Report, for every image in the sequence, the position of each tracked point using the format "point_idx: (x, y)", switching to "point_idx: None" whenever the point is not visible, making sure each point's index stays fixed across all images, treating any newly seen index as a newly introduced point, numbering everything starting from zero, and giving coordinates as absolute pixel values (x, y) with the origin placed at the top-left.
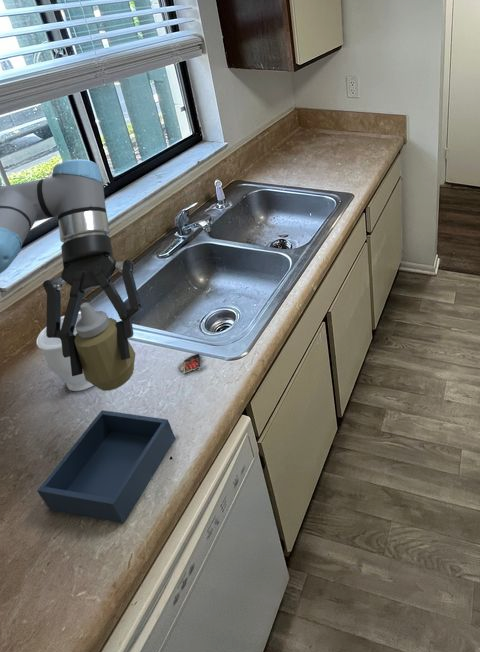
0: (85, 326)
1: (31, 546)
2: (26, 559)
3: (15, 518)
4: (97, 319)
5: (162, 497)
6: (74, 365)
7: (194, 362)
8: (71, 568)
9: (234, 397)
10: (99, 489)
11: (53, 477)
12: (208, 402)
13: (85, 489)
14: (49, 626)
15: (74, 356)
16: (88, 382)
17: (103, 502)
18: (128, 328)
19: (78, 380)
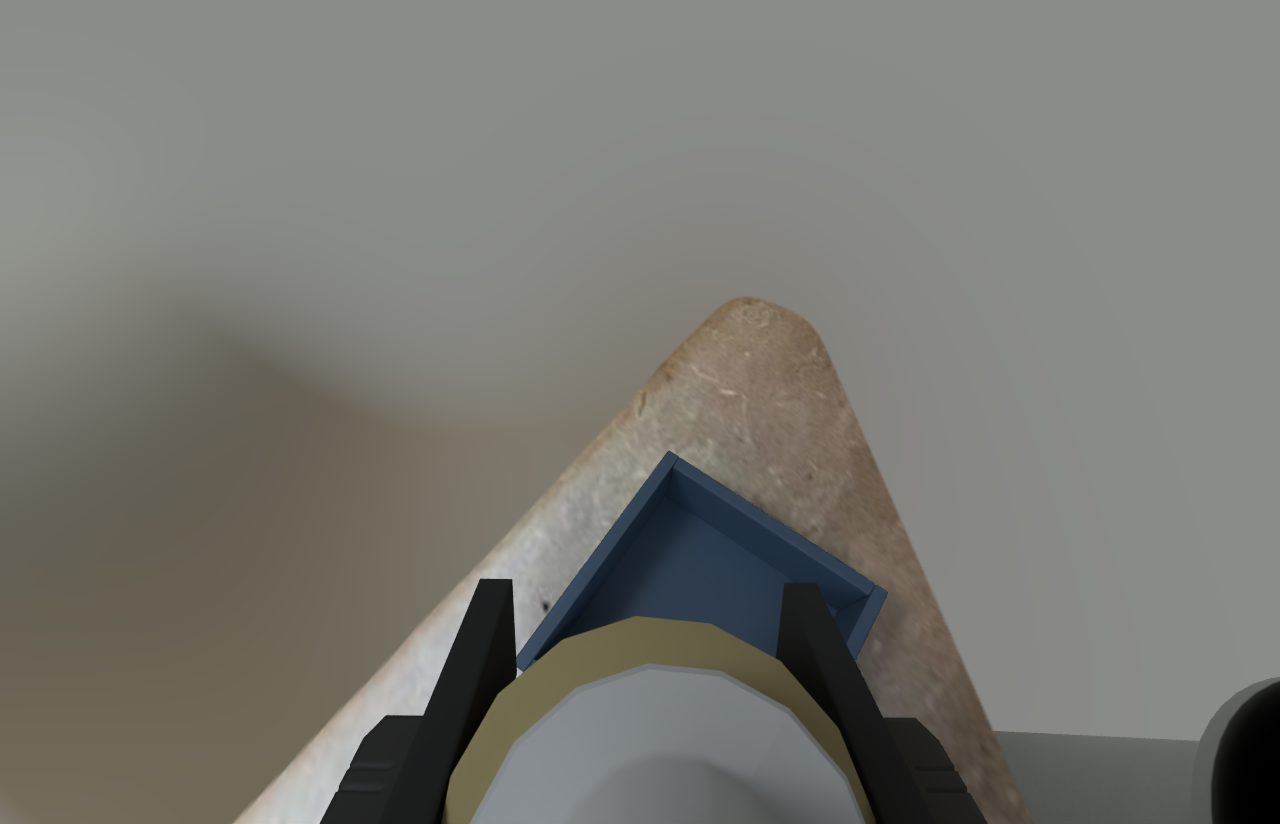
0: (732, 773)
1: (862, 534)
2: (863, 509)
3: (934, 631)
4: None
5: (575, 503)
6: (814, 624)
7: None
8: (759, 444)
9: (312, 746)
10: (731, 597)
11: (854, 621)
12: None
13: (769, 616)
14: (773, 367)
15: (829, 677)
16: None
17: (692, 466)
18: (360, 794)
19: None
